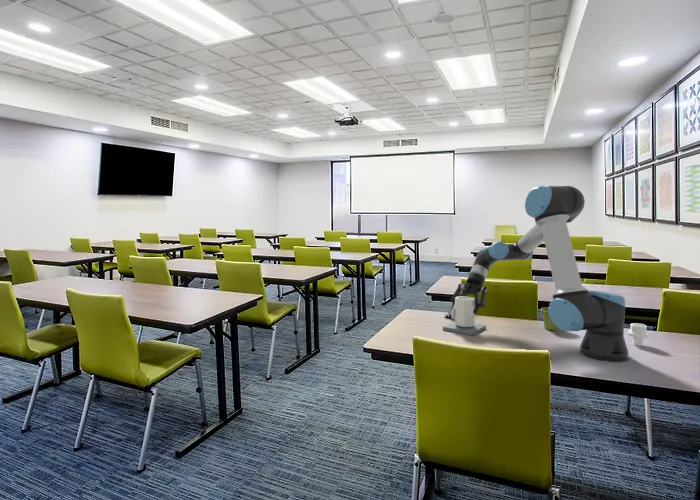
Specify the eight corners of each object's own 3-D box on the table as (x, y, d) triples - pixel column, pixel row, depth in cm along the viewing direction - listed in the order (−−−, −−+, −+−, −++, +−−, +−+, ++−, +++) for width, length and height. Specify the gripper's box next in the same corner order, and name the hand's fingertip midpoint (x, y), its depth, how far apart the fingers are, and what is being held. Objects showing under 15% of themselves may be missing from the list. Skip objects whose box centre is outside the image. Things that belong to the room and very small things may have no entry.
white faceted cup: (476, 323, 186) (477, 297, 185) (469, 327, 180) (469, 300, 179) (460, 320, 192) (460, 295, 190) (452, 324, 186) (452, 298, 184)
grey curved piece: (458, 311, 220) (464, 294, 216) (466, 315, 217) (472, 298, 214) (443, 317, 207) (450, 300, 204) (451, 322, 204) (458, 304, 201)
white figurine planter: (626, 345, 161) (627, 325, 161) (628, 341, 167) (629, 321, 166) (646, 348, 157) (647, 328, 157) (648, 344, 163) (649, 324, 162)
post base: (485, 328, 187) (486, 306, 186) (472, 335, 176) (472, 312, 175) (457, 323, 196) (457, 302, 195) (442, 329, 185) (442, 307, 184)
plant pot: (568, 330, 182) (569, 311, 181) (550, 332, 180) (550, 313, 179) (553, 325, 191) (554, 306, 190) (535, 326, 189) (536, 308, 188)
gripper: (501, 284, 189) (486, 326, 178) (459, 279, 203) (442, 318, 192) (497, 273, 185) (481, 316, 174) (454, 270, 198) (437, 309, 188)
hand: (461, 317), depth 183 cm, fingers closed on white faceted cup, 8 cm apart
